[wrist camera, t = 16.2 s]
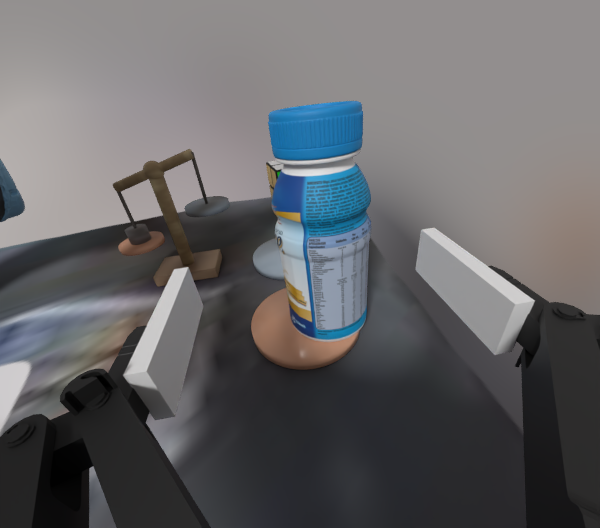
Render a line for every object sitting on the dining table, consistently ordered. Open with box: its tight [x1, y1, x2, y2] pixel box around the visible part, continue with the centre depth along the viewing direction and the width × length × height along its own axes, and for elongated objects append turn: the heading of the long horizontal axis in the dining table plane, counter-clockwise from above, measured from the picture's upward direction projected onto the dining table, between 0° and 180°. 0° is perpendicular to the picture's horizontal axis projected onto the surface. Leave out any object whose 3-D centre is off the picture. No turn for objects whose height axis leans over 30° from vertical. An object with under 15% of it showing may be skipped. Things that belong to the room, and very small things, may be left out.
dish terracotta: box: [251, 288, 360, 370], centre depth 30 cm, size 12×12×1 cm
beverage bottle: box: [268, 101, 371, 342], centre depth 24 cm, size 8×8×20 cm
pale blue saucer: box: [253, 238, 285, 280], centre depth 43 cm, size 12×12×1 cm
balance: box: [113, 149, 230, 287], centre depth 39 cm, size 17×6×18 cm, turn 98°
